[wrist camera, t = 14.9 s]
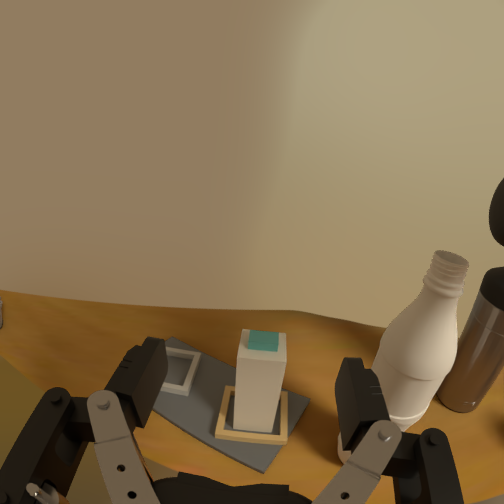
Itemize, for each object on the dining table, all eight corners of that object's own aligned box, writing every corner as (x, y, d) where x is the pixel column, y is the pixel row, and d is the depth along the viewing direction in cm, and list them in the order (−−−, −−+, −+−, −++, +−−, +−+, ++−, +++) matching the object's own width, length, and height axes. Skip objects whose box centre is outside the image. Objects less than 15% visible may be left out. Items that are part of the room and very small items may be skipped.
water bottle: (322, 466, 25) (407, 261, 16) (342, 424, 31) (408, 235, 22) (379, 483, 22) (502, 287, 13) (392, 438, 28) (481, 255, 19)
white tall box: (237, 402, 34) (242, 321, 29) (272, 405, 34) (287, 325, 29) (233, 428, 30) (237, 349, 25) (271, 432, 30) (288, 353, 25)
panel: (170, 338, 46) (170, 330, 45) (312, 402, 35) (314, 395, 34) (111, 378, 35) (109, 370, 35) (266, 475, 24) (268, 469, 24)
